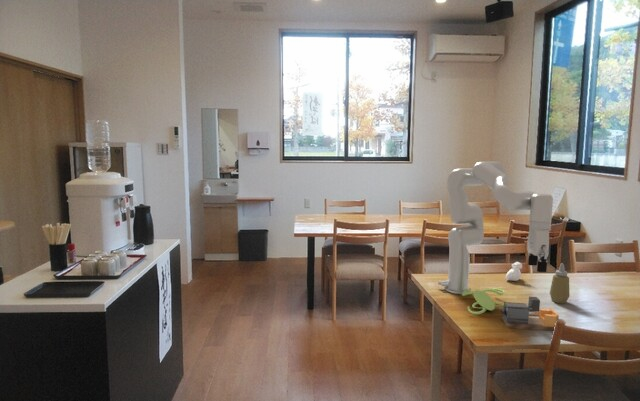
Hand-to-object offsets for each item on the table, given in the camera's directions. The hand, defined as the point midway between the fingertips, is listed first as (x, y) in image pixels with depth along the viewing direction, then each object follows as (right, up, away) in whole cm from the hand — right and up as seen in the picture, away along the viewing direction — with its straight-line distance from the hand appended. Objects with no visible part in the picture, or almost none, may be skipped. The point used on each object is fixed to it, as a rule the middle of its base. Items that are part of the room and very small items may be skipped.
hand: (536, 268), depth 166 cm
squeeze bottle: (+25, -20, +29) cm, 43 cm away
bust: (+18, -16, +60) cm, 65 cm away
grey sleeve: (-7, -22, +3) cm, 23 cm away
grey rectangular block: (-5, -19, +2) cm, 20 cm away
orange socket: (+5, -22, +1) cm, 23 cm away
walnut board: (-2, -23, +2) cm, 23 cm away
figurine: (-11, -21, +24) cm, 33 cm away
